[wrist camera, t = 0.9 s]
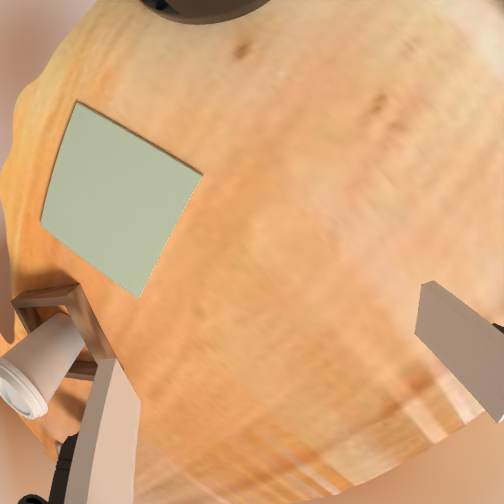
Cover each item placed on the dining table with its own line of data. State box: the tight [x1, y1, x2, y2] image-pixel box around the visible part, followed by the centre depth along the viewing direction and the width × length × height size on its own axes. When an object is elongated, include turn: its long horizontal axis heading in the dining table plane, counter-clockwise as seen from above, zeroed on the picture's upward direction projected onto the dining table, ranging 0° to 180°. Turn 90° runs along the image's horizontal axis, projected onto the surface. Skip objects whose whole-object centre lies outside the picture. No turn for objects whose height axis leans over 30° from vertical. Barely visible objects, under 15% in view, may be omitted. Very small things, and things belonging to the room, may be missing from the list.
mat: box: [40, 103, 203, 298], centre depth 30 cm, size 16×16×1 cm
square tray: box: [11, 284, 124, 381], centre depth 38 cm, size 14×14×3 cm
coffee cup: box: [0, 313, 85, 419], centre depth 33 cm, size 10×10×15 cm
